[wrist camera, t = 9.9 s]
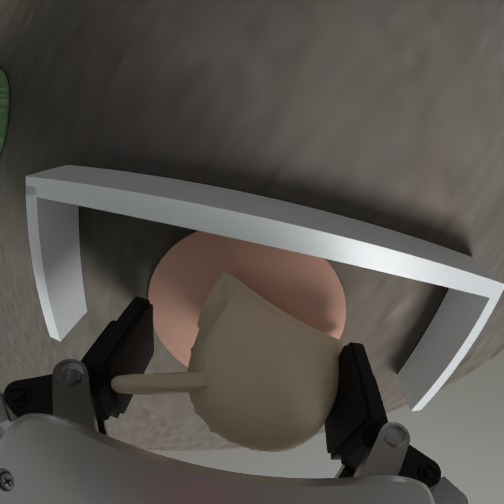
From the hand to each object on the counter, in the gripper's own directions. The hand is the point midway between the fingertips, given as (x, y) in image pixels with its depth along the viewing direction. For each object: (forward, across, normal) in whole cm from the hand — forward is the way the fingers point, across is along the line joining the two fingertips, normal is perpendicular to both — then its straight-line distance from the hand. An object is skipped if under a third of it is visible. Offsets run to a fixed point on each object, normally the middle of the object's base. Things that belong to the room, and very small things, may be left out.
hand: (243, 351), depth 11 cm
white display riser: (+2, 0, -1) cm, 3 cm away
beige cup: (+1, 0, 0) cm, 1 cm away
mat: (+2, 0, 0) cm, 2 cm away
